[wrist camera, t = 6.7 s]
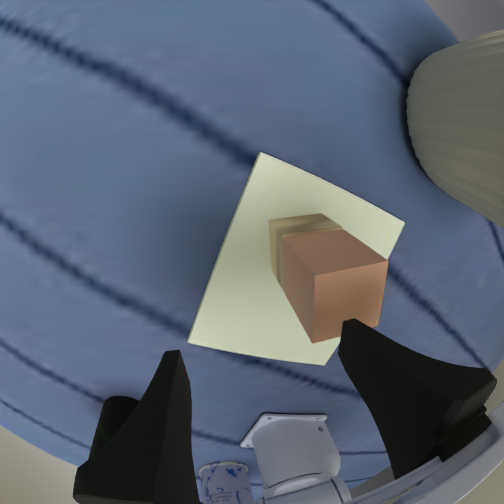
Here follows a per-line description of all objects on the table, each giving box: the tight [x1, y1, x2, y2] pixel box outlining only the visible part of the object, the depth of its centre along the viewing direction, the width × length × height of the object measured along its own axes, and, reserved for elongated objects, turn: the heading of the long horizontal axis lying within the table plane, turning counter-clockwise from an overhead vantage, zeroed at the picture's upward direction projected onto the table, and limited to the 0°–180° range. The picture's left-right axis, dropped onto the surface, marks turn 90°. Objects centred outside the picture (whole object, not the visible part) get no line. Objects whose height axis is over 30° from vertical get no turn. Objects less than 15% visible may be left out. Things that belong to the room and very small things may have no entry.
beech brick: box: [269, 213, 343, 293], centre depth 19 cm, size 4×4×3 cm
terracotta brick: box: [283, 229, 388, 344], centre depth 16 cm, size 4×4×5 cm
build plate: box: [188, 152, 405, 365], centre depth 23 cm, size 14×16×1 cm
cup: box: [88, 397, 139, 460], centre depth 20 cm, size 8×8×12 cm
